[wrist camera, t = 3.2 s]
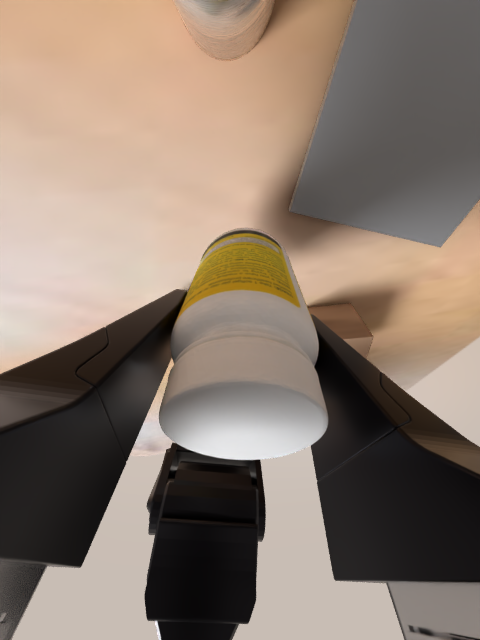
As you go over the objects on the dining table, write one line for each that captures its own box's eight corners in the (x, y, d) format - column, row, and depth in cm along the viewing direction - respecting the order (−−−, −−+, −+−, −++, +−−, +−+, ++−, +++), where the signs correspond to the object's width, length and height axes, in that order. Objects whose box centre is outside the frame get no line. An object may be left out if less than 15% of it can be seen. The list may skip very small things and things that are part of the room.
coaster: (433, 244, 14) (440, 247, 13) (288, 209, 13) (289, 211, 12) (647, -30, 8) (673, -41, 7) (397, -139, 7) (409, -161, 6)
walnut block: (342, 338, 19) (360, 373, 16) (298, 341, 20) (308, 377, 17) (350, 302, 17) (373, 336, 14) (299, 307, 17) (311, 342, 14)
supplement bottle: (183, 262, 11) (93, 416, 5) (256, 203, 9) (275, 320, 3) (237, 319, 14) (228, 475, 7) (304, 281, 12) (377, 444, 5)
